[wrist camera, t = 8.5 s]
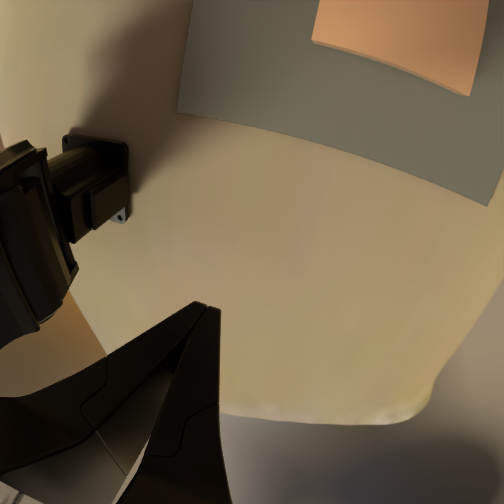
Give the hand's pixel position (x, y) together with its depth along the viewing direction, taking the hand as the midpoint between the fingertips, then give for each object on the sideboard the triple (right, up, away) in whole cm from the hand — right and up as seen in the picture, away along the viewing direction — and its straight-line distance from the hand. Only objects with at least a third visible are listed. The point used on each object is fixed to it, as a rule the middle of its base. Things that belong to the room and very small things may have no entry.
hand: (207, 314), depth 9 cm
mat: (+8, +15, +3) cm, 17 cm away
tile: (+5, +15, +1) cm, 16 cm away
